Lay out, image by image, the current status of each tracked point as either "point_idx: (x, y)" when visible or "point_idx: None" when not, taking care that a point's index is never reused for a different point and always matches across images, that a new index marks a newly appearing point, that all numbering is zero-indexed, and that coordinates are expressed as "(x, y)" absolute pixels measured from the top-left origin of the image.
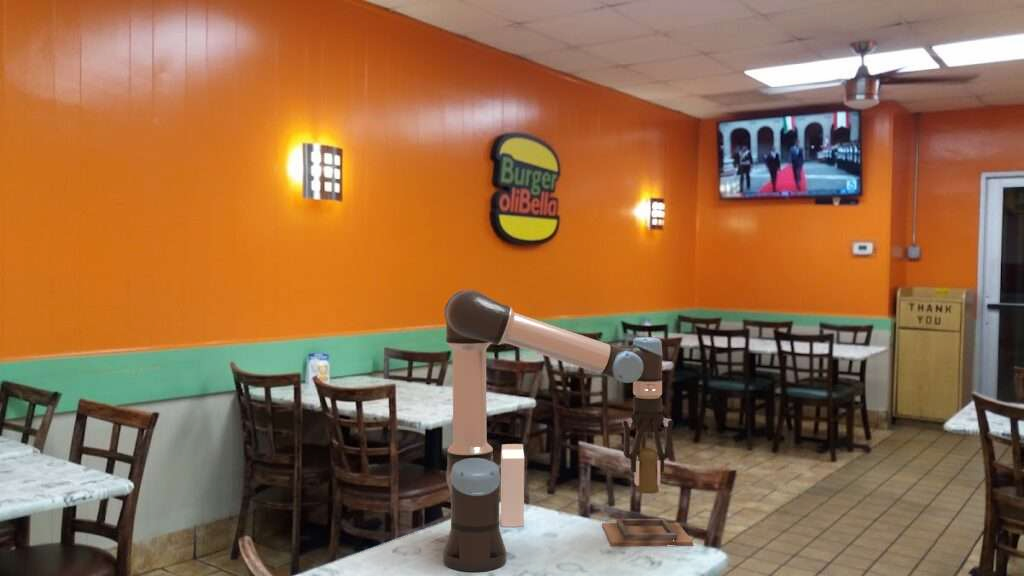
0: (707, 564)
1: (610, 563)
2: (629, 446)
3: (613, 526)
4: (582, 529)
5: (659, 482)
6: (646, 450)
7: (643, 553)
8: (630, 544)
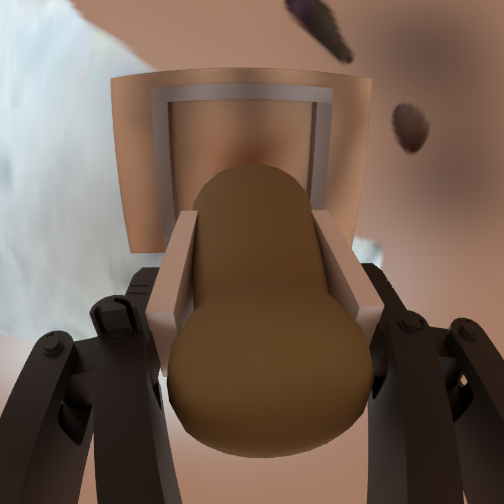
0: None
1: None
2: (80, 473)
3: (143, 110)
4: (60, 113)
5: None
6: (253, 455)
7: None
8: None
